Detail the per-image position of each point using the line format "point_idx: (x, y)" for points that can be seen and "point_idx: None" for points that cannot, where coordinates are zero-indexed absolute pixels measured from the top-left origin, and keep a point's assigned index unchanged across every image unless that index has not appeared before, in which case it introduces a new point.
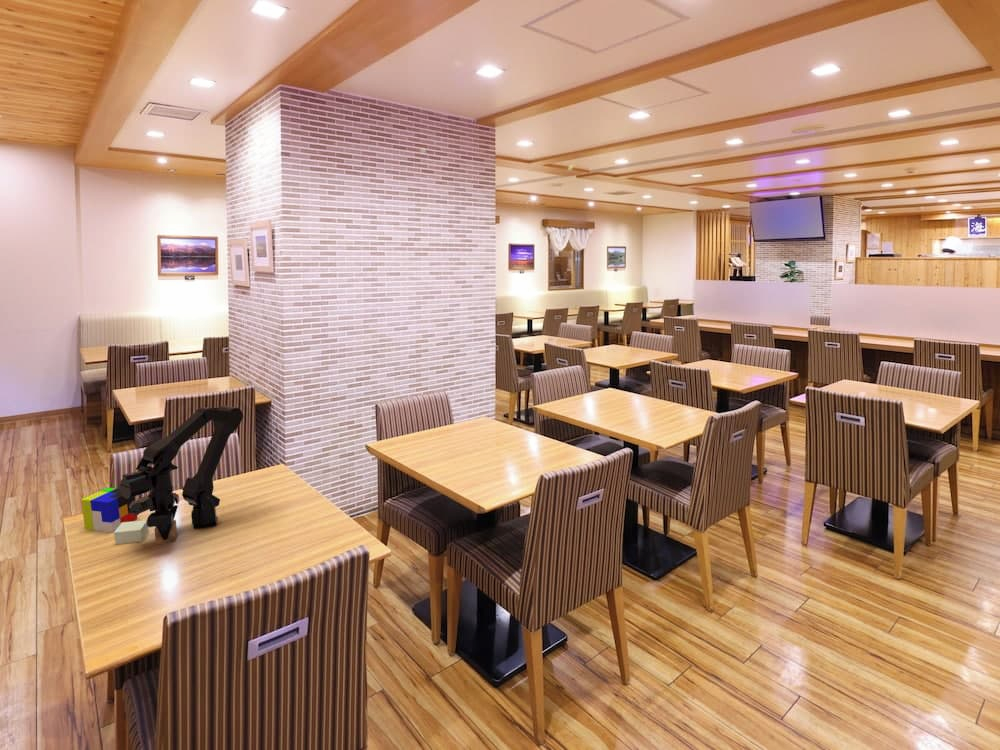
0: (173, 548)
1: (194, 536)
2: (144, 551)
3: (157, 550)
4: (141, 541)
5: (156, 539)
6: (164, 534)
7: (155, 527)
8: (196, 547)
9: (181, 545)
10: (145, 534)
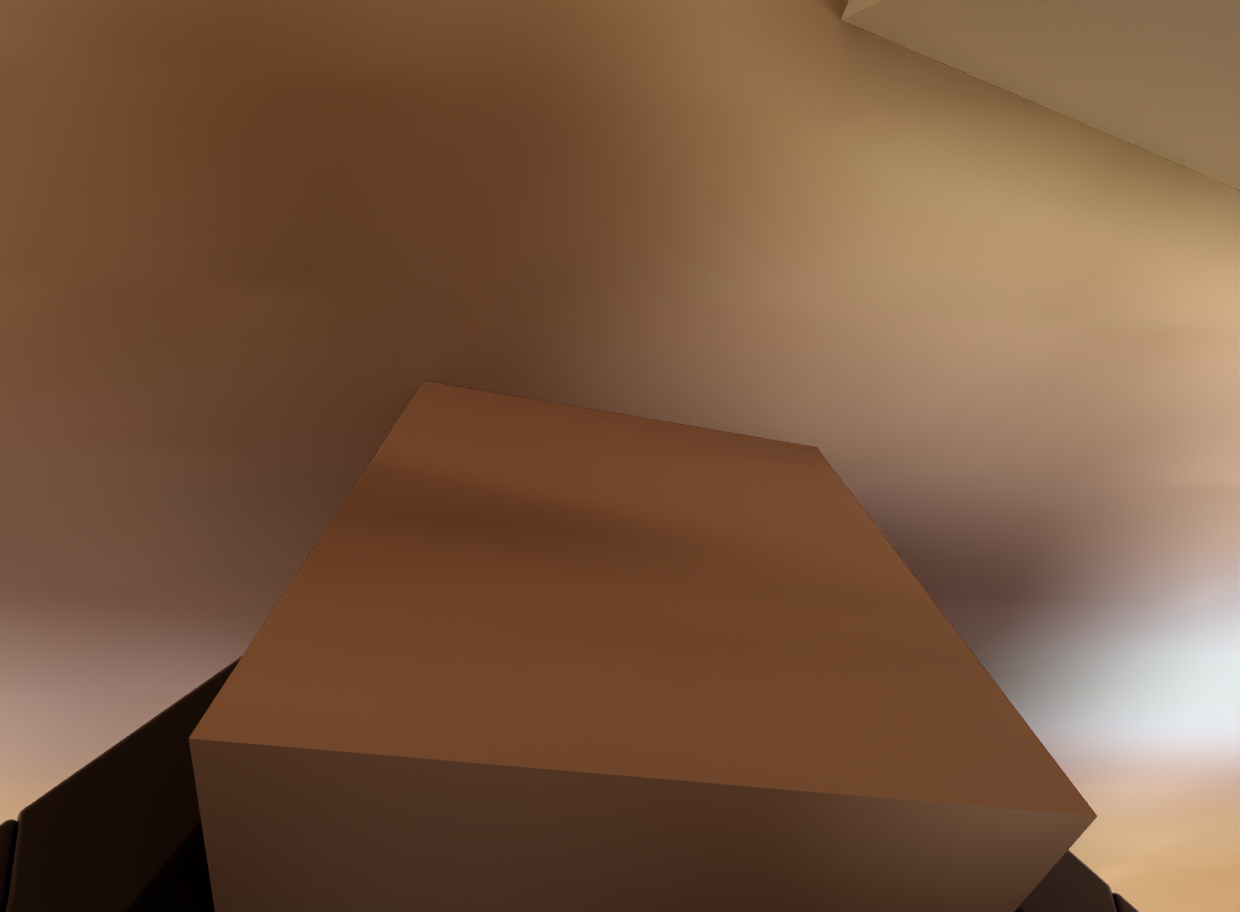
0: (90, 655)
1: None
2: (47, 63)
3: (49, 391)
4: (846, 13)
5: (390, 456)
6: None
7: (452, 764)
8: None
9: None
10: (1203, 159)
